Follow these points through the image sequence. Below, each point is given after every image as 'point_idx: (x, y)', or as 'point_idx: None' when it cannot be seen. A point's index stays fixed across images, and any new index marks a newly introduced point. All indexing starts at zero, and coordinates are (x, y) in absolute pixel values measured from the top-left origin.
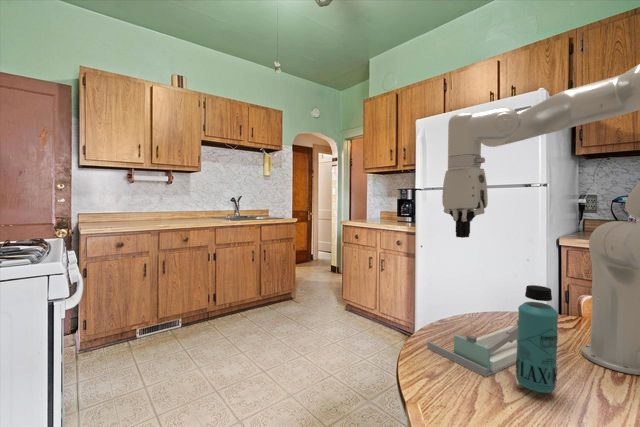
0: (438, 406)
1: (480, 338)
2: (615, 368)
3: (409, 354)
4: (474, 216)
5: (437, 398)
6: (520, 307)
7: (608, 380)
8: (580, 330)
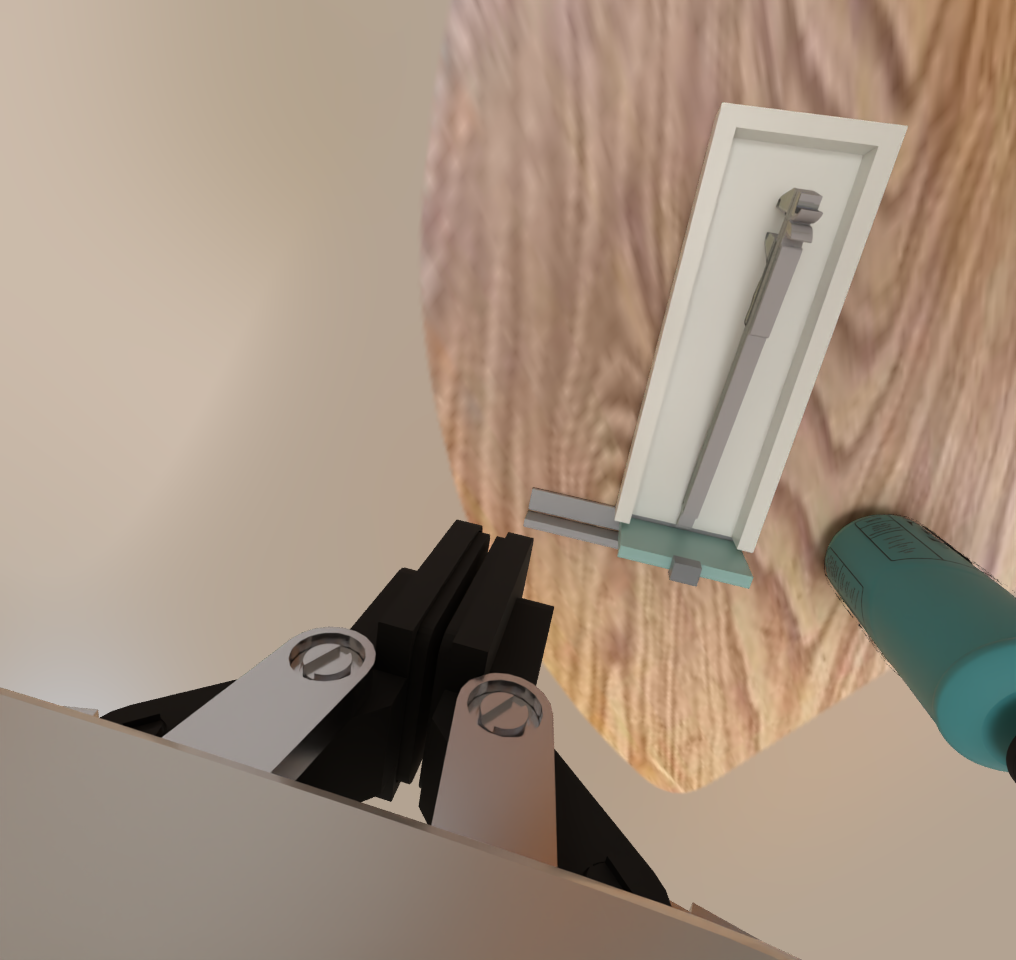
0: (689, 744)
1: (658, 395)
2: None
3: None
4: (615, 844)
5: (674, 722)
6: (952, 738)
7: None
8: None
